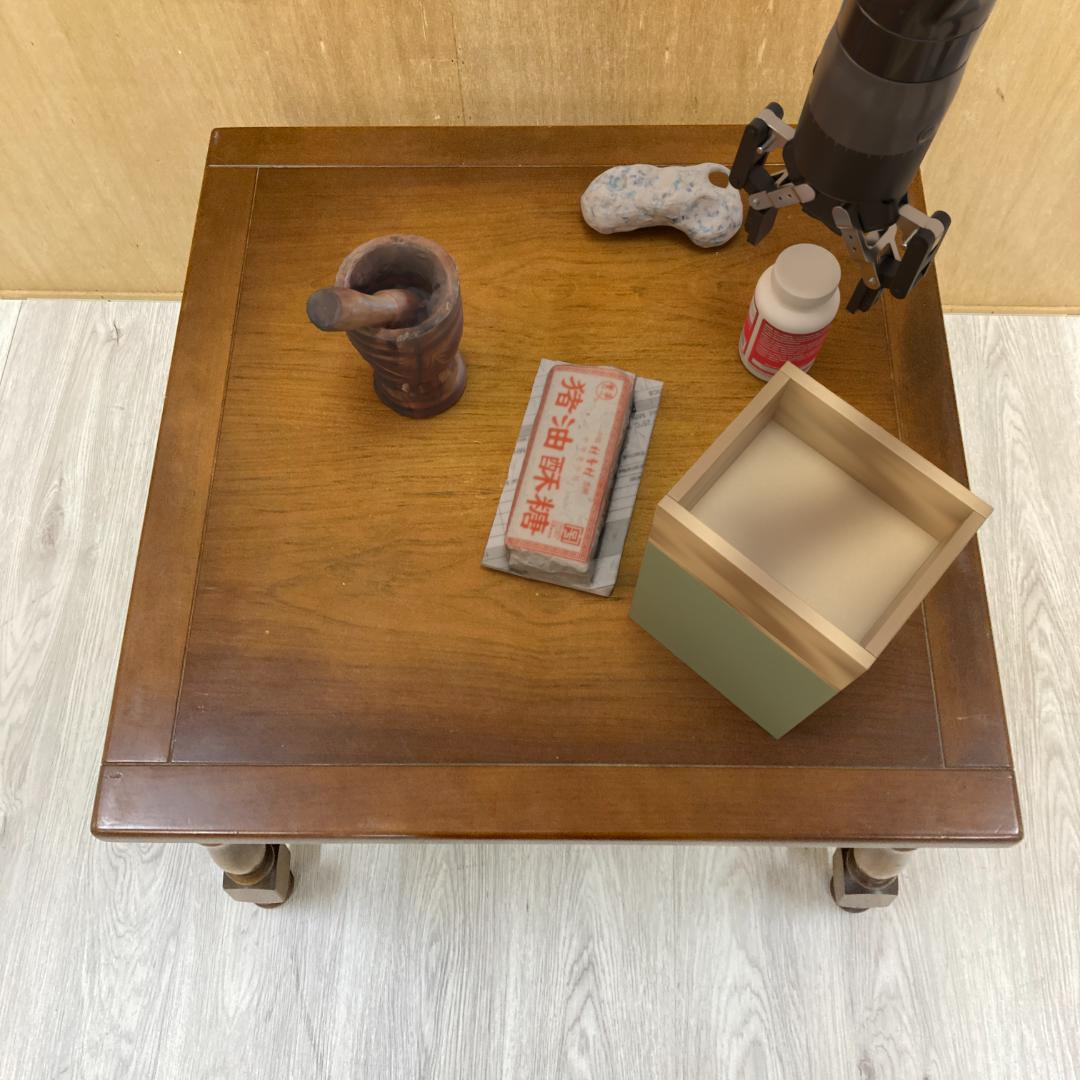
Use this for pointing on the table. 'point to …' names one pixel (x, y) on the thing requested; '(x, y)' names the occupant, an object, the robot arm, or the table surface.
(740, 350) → the pill bottle
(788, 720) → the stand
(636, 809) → the table surface
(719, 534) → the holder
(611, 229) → the decorative stone
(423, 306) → the mortar and pestle
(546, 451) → the packaged product
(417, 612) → the table surface
